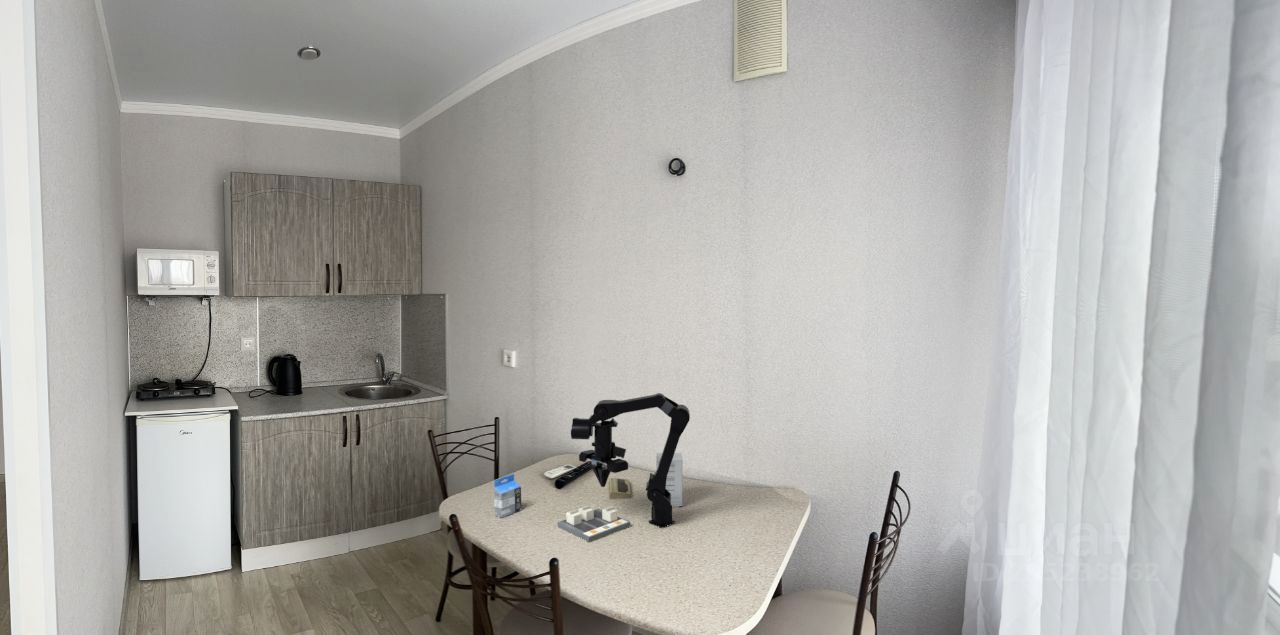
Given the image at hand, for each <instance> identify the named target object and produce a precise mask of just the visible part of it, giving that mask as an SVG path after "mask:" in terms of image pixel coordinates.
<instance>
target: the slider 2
mask: <svg viewBox="0 0 1280 635" xmlns="http://www.w3.org/2000/svg"><path fill="white" fill-rule="evenodd" d="M601 510H602V519H604V520H606V521H609V522H612V521H615V520H617V517H618V510H617V509H615V506H608V507H606V508H603V509H601Z"/></svg>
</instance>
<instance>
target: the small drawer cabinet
mask: <svg viewBox="0 0 1280 635" xmlns="http://www.w3.org/2000/svg"><path fill="white" fill-rule="evenodd" d="M662 453H663V452H657V453H656V469H657V468H658V465H659V462H660V459H661V456H662ZM683 472H684V471H683V457H682V453H681V452H675V453H674V456H673V459H672V462H671V465H670V469H669V472H668V475H667V480H666V489H667V490H668V491H669V492H670V493H671V505H672V506H682V507H683V480H684V479H683V478H684V477H683V476H684V475H683Z"/></svg>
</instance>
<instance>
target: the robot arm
mask: <svg viewBox="0 0 1280 635" xmlns="http://www.w3.org/2000/svg"><path fill="white" fill-rule="evenodd" d="M653 408H654V409H655V408H658V409H659V410H661V411H662V412H663V413H664V414H665V415H667V416H668V417H669V418H670V425H669V431H668V435H667V437H666V440H665V444H664V447H663V450H662V452H661V453H662V456H661V459H660V462H659V465H658V468H657V467H656V471H655V472H654V474H653V473H651V472H650V473H649V478H648V481H647V482H646V485H645V486H646V487H645V491H646V497H647V499H648V500H649V502H651V508H650V509H651V510H650V511H651V512H650V513H651V516H650V517H651V518H650V519H649V520H648V524H652V525H653V524H654V526H656V525H657V526H656V527H658V526H659V527H658V528H661V527H664V528H666V527H668V526H667V525H669V526H671V525H673V524H672V523H674V522H675V523H676V520H674V519H673V507H672V505H671V493H670V492H669V491H668V490H667V489H666V480H667V475H668V472H669V469H670V465H671V462H672V459H673V456H674V453H676V449H677V447H678V444H679V441H680V437H681V436H682V435H683V432H684V431H685V429H686V427H687V426H688V424H689V422H690V418H691V414H690V410H689V407H688V406H686V405H685V404H679V403H677V402H676V401H674V400H672V399H670V398H669V397H667V396H665V395H664V393H660V392H657V393H656V394H655V393H654V394H651V395H645V396H640V397H634V398H629V399H623V400H618V399H617V400H616V399H602V400H599V401H598V403H597V404H596V405H595V406H594V408H593V414H591V415H590V416H589V417H588V418H579V417H573V418H572V424H571V429H570V437H571V440H590V437H593V435H594V438H593V439H594V441H593V442H591V447H594V448H593V449H588V450H584V451H581V452H580V453H579V455H578V461H579V462H582V463H585V462H587V460H590V462H591V464H589V467H590V468H591V469H592V471H593V473H594V475H595V477H596V479H597V481H598V483H599V484H600V487H602V488H604V487H605V486H606V484H607V482H608V480H609V476H610V474H611V473H613V474H617V473H620V472H624V471H627V470H629V462H628V461H627V460H624V458H625V455H626V453H627V452H626V451H627V448H623V447H620V446H617V445H616V443H615V441H613V428H617V427H618V424H619V423H618V422H617V421H616V420H615V419H614V418H615V417H618V416H620V415H622V414H626V413H633V412H638V411H643V410H650V409H653ZM675 523H674V524H675ZM670 524H671V525H670ZM665 526H666V527H665Z"/></svg>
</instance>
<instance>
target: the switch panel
mask: <svg viewBox="0 0 1280 635" xmlns="http://www.w3.org/2000/svg"><path fill="white" fill-rule="evenodd" d="M593 510H594V519H591V520H588V521H585V520H583V519H582V523H580V524H577V525H572V524H570V523H568V522H566V519H563V520H560V521H558V522H557V527H558V528H559V529H561V530H563V531H565V532H567V533H570V534H571V533H572V534H571V535H573V536H575V537H577V538H579V537H580V538H579V539H581V538H582V539H581V540H583V539H584V540H583V541H585V540H586V541H585V542H587V541H588V542H587V543H591V542H594V541H596V539H597V540H599V539H601V537H602V538H604V536H605V537H606V536H609V534H610V535H612V534H615V533H617V531H618V532H620V531H622V529H623V530H625V529H627V527H628V528H630V527H631V521H629V520H626V519H625V518H622V517H619V516H617V520H615V521H612V522H609V521H606V520H604V519H602V510H603V509H600V508H596V509H593ZM629 526H630V527H629ZM624 528H625V529H624ZM614 532H615V533H614ZM593 540H594V541H593ZM590 541H591V542H590Z"/></svg>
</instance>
